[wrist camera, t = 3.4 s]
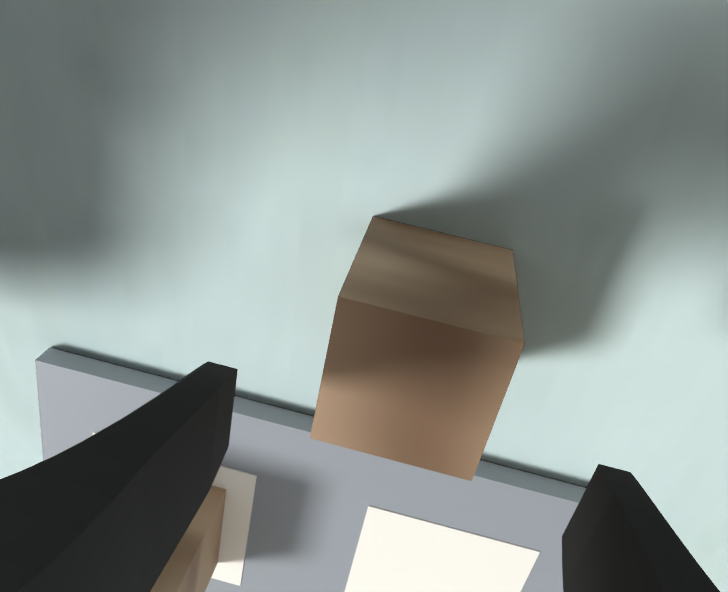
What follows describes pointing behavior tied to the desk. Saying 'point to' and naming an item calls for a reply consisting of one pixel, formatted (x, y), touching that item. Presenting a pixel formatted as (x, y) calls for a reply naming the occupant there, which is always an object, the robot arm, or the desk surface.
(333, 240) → the desk surface
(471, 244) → the block
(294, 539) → the board
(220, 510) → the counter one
